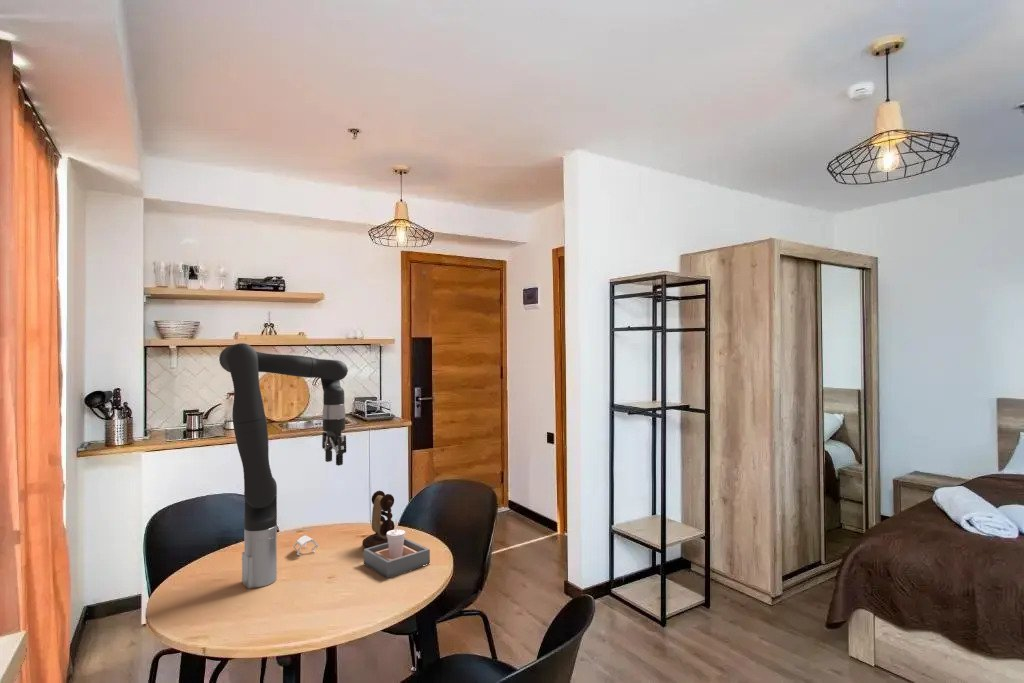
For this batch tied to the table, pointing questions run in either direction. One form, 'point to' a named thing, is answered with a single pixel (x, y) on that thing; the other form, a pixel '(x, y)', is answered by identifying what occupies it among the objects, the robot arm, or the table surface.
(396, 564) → the socket box
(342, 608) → the table surface
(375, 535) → the scroll
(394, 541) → the smoothie
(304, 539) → the origami figure
